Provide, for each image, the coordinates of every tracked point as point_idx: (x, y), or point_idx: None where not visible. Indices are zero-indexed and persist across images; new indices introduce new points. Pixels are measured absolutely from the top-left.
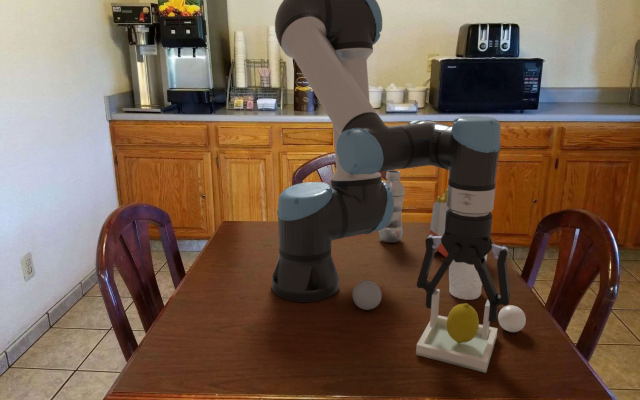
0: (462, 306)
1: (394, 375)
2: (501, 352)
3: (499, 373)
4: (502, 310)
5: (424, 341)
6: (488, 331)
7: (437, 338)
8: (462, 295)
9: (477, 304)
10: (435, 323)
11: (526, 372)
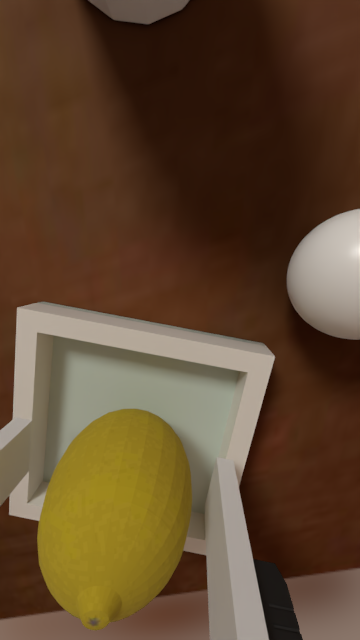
0: (77, 611)
1: (5, 565)
2: (269, 422)
3: (250, 516)
4: (326, 287)
5: (27, 493)
6: (233, 467)
7: (70, 411)
8: (125, 4)
9: (205, 61)
10: (24, 458)
11: (325, 499)
